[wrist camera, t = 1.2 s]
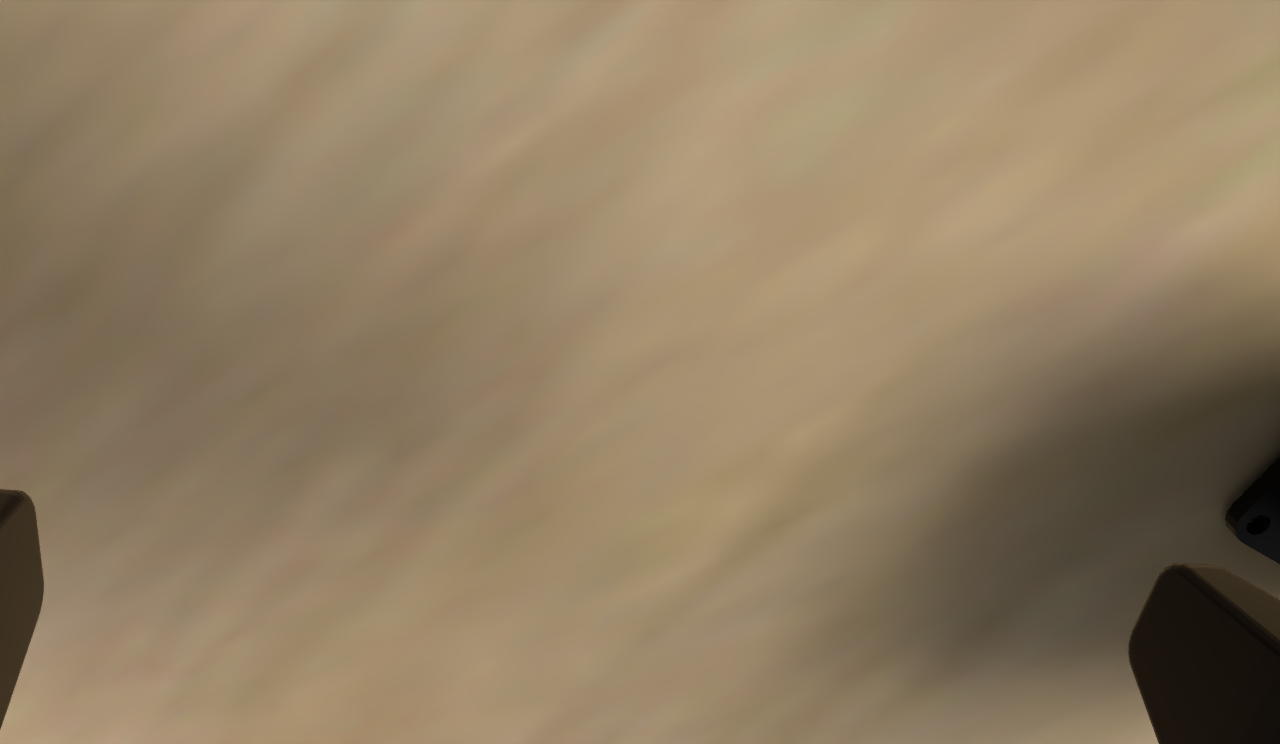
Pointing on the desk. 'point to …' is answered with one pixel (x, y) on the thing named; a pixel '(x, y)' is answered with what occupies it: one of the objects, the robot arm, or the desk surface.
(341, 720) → the desk surface
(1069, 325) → the desk surface
